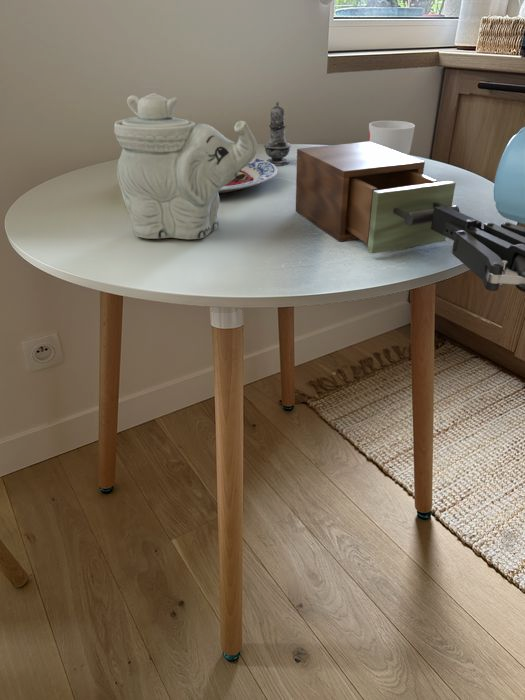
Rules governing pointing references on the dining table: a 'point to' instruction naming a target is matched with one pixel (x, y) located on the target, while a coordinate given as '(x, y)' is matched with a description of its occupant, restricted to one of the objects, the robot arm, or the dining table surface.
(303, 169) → the cabinet
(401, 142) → the cup
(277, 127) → the salt shaker
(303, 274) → the dining table surface
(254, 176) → the ceramic plate
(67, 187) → the dining table surface
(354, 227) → the drawer
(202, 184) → the teapot
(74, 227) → the dining table surface
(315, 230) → the dining table surface
